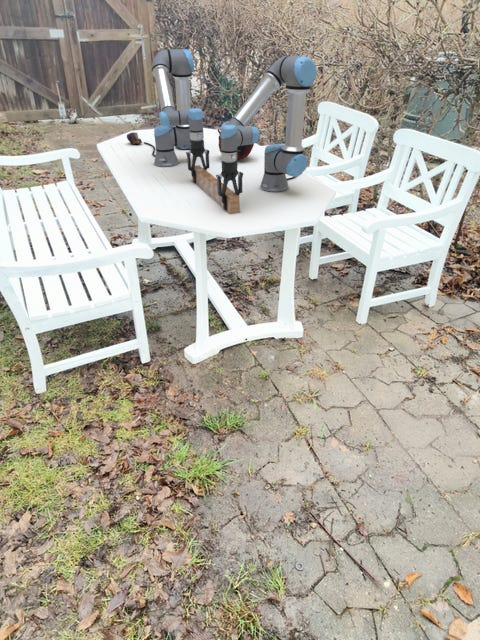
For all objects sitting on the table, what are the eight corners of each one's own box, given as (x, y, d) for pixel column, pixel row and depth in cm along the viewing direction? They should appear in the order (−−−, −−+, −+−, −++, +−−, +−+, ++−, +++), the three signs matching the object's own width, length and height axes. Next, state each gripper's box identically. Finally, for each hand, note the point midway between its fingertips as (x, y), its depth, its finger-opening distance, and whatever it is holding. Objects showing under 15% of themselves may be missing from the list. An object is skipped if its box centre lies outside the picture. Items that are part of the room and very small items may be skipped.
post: (192, 179, 266) (191, 166, 261) (200, 178, 267) (199, 165, 263) (230, 213, 221) (230, 197, 216) (239, 212, 222) (239, 196, 218)
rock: (138, 143, 345) (126, 144, 341) (137, 131, 341) (124, 132, 337) (143, 144, 336) (130, 145, 331) (141, 131, 332) (128, 132, 328)
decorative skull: (215, 132, 306) (215, 129, 282) (249, 124, 305) (251, 121, 281) (222, 164, 313) (222, 164, 289) (255, 157, 312) (258, 156, 288)
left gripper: (183, 142, 243) (186, 185, 256) (214, 139, 249) (216, 181, 262) (179, 139, 248) (182, 181, 262) (209, 136, 254) (211, 177, 267)
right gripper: (214, 164, 207) (216, 213, 220) (249, 160, 213) (249, 207, 226) (208, 160, 213) (210, 208, 226) (243, 156, 218) (243, 203, 232)
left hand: (199, 181), depth 262 cm, fingers closed on post, 5 cm apart
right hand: (230, 207), depth 226 cm, fingers closed on post, 5 cm apart
